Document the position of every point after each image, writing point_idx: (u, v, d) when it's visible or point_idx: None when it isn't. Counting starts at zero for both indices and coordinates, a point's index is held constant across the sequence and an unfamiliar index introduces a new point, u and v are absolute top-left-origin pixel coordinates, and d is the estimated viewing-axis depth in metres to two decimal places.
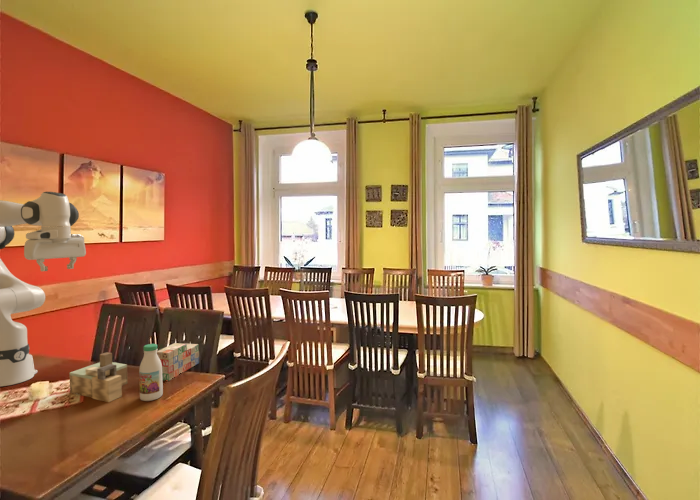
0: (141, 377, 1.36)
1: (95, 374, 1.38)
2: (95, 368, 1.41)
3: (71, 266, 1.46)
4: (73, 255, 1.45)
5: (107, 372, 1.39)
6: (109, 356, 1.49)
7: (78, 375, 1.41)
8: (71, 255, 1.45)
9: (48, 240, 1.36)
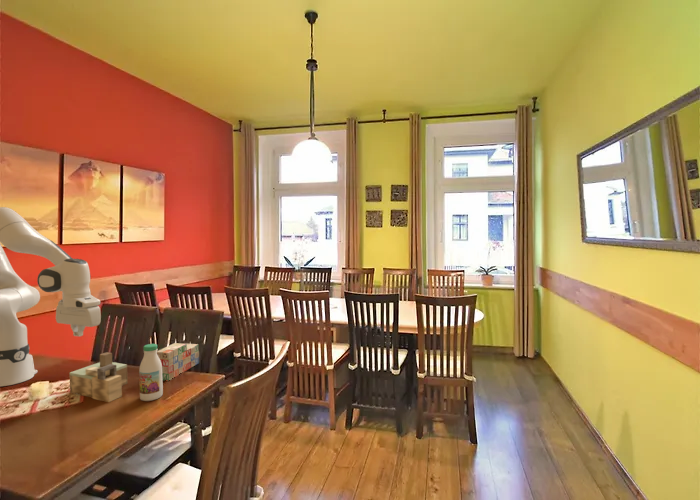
0: (141, 377, 1.36)
1: (95, 374, 1.38)
2: (95, 368, 1.41)
3: None
4: None
5: (107, 372, 1.39)
6: (109, 356, 1.49)
7: (78, 375, 1.41)
8: None
9: None
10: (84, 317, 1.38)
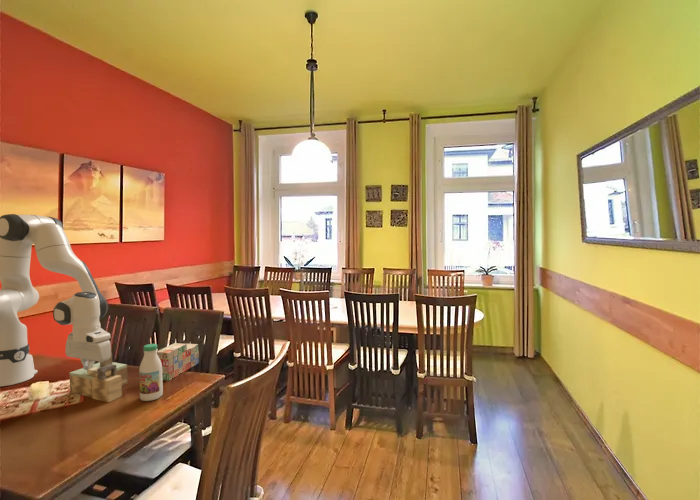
0: (141, 377, 1.36)
1: (97, 375, 1.38)
2: (97, 368, 1.40)
3: None
4: None
5: (109, 372, 1.39)
6: None
7: (78, 375, 1.41)
8: None
9: None
10: (94, 351, 1.38)
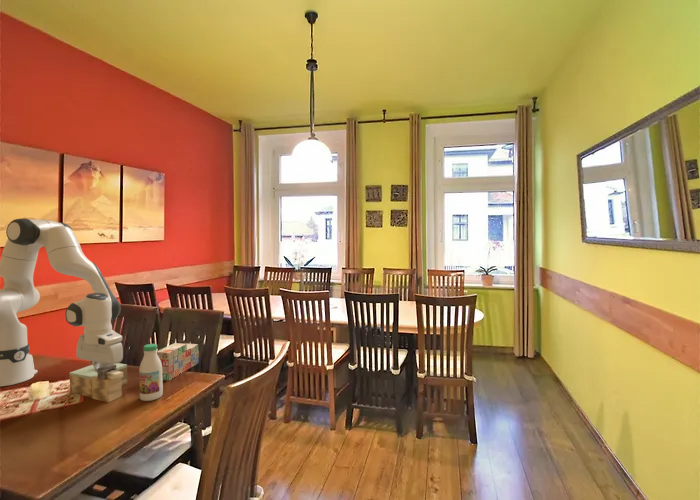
0: (141, 377, 1.36)
1: (109, 377, 1.36)
2: (108, 370, 1.38)
3: None
4: None
5: (121, 374, 1.37)
6: None
7: (78, 375, 1.41)
8: None
9: None
10: (106, 354, 1.35)
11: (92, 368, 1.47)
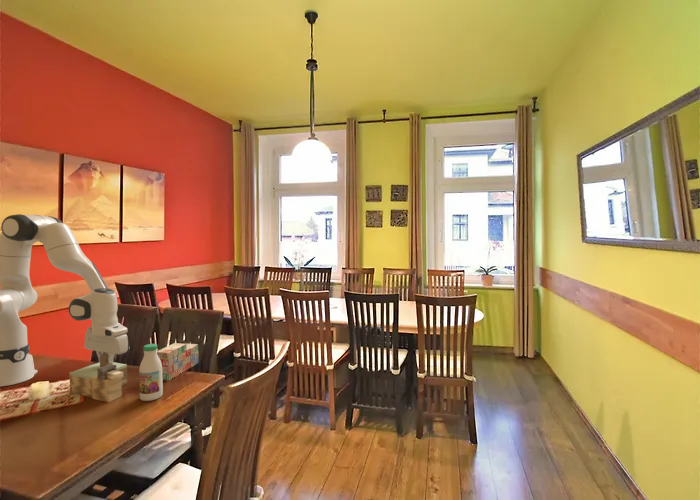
0: (141, 377, 1.36)
1: (109, 377, 1.36)
2: (108, 370, 1.38)
3: None
4: None
5: (121, 374, 1.37)
6: None
7: (78, 375, 1.41)
8: None
9: None
10: (112, 344, 1.45)
11: (92, 368, 1.47)
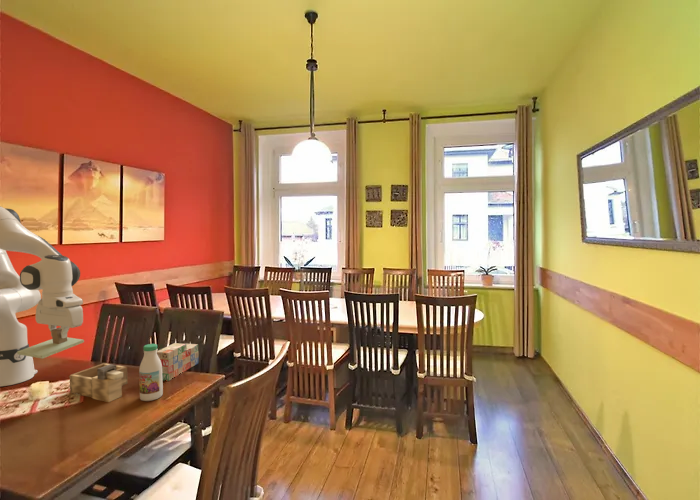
0: (141, 377, 1.36)
1: (109, 377, 1.36)
2: (108, 370, 1.38)
3: None
4: None
5: (121, 374, 1.37)
6: None
7: (26, 354, 1.26)
8: None
9: None
10: (65, 317, 1.30)
11: (44, 345, 1.32)
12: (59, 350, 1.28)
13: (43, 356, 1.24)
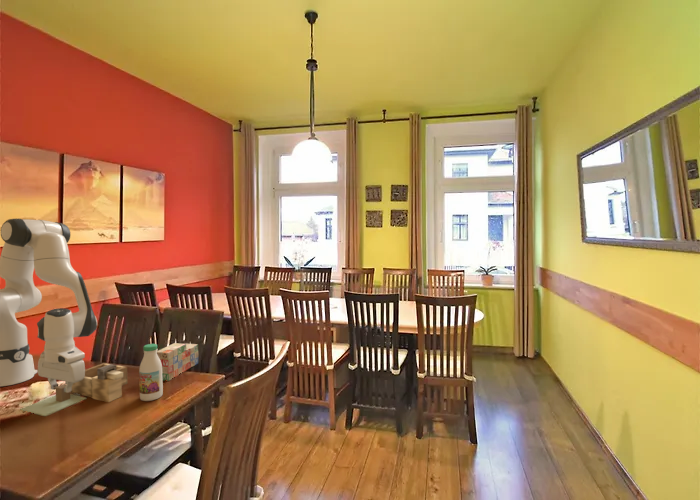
0: (141, 377, 1.36)
1: (109, 377, 1.36)
2: (108, 370, 1.38)
3: None
4: None
5: (121, 374, 1.37)
6: None
7: None
8: None
9: None
10: (67, 372, 1.31)
11: (47, 403, 1.33)
12: None
13: (46, 415, 1.25)
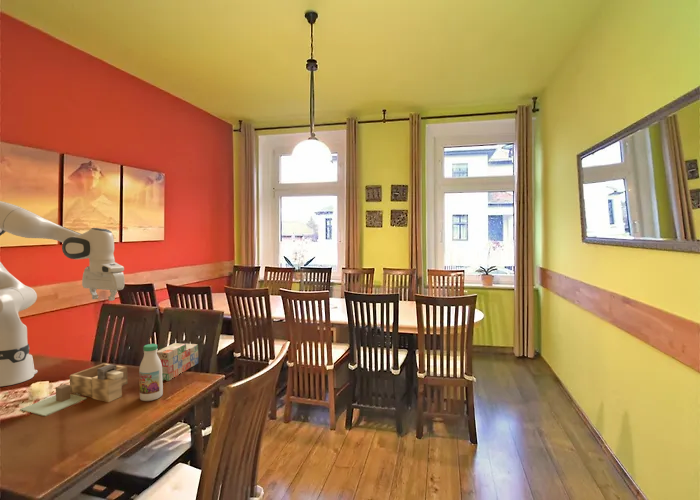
0: (141, 377, 1.36)
1: (109, 377, 1.36)
2: (108, 370, 1.38)
3: None
4: None
5: (121, 374, 1.37)
6: (66, 389, 1.36)
7: None
8: None
9: None
10: (109, 281, 1.50)
11: (47, 403, 1.33)
12: None
13: (46, 415, 1.25)
